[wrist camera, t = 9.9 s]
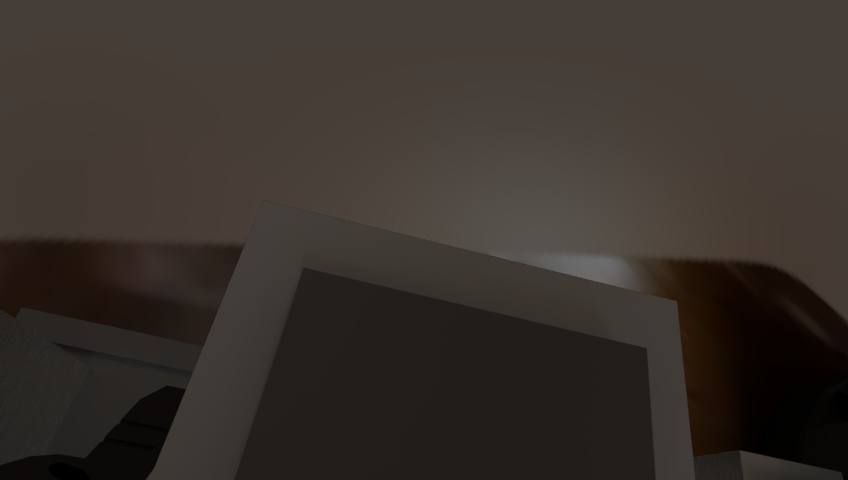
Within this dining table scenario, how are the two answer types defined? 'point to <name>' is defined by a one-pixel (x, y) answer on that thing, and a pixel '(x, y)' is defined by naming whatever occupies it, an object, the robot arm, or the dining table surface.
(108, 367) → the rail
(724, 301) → the dining table surface
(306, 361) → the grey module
